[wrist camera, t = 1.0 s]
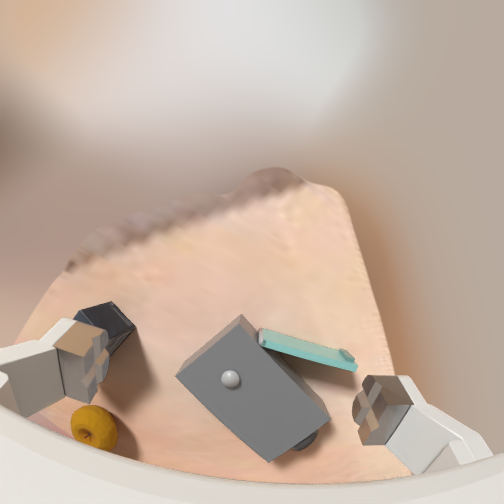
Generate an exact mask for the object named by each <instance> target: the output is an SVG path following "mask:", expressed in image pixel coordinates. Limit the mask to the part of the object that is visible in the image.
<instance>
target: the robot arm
mask: <svg viewBox="0 0 504 504" xmlns="http://www.w3.org/2000/svg"><path fill="white" fill-rule="evenodd" d="M108 342H109V340H108V332H107V331H106V330H104V329H101V328H98V327H95V326H92V325H88V324H85V323H82V322H78V321H76V320H73V319H70V318H67V317H64V318H61V319H60V320H59V321H58V322H57V323H56V324H55V325H54V326H53V327H52V328H51V329H50V330H49V331H48V332H47V333H46V334H45V335H44V336H43V337H42V338H41V339H40V340H39V341H36V340H32V341H28V342H24V343H20V344H16V345H13V346H9V347H5V348H1V349H0V504H504V452H503V453H500V454H497V455H493V454H492V452H491V451H490V449H489V448H488V446H487V445H486V443H485V442H484V440H483V439H482V437H481V436H480V435H479V434H478V433H476V432H475V431H473V430H472V429H470V428H468V427H466V426H465V425H463V424H462V423H460V422H458V421H457V420H455V419H454V418H452V417H450V416H449V415H447V414H445V413H444V412H442V411H441V410H439V409H437V408H436V407H434V406H432V405H430V404H429V405H428V404H427V403H426V401H425V400H424V398H423V397H422V395H421V393H420V392H419V390H418V389H417V387H416V386H415V384H414V383H413V381H412V380H411V378H410V377H409V376H407V375H405V376H404V375H402V376H401V375H399V376H398V375H394V376H384V375H368V376H367V377H366V378H365V379H364V381H363V383H362V387H363V390H362V391H361V392H360V393H358V394H357V395H356V397H355V400H354V402H353V407H352V416H353V419H354V422H356V423H357V424H358V425H359V426H360V427H359V429H358V434H359V436H360V439H361V442H362V445H385V447H386V448H387V449H388V450H390V451H391V452H392V453H393V454H394V455H395V456H396V457H397V458H398V459H399V460H400V461H401V462H402V463H403V464H404V465H405V466H406V467H407V468H408V469H409V470H410V471H411V472H412V473H413V474H415V475H412V476H406V477H400V478H392V479H384V480H376V481H365V482H352V483H333V484H287V483H267V482H254V481H244V480H234V479H226V478H219V477H212V476H206V475H200V474H194V473H189V472H184V471H179V470H174V469H169V468H165V467H160V466H156V465H152V464H148V463H144V462H141V461H137V460H133V459H130V458H126V457H123V456H120V455H116V454H113V453H110V452H107V451H104V450H101V449H98V448H95V447H93V446H90V445H87V444H84V443H82V442H79V441H76V440H74V439H71V438H69V437H66V436H64V435H62V434H59V433H57V432H54V431H52V430H50V429H48V428H45V427H43V426H41V425H39V424H37V423H35V422H33V421H31V420H29V419H27V417H29V416H31V415H33V414H35V413H36V412H38V411H40V410H42V409H44V408H46V407H48V406H50V405H52V404H53V403H55V402H57V401H59V400H61V399H63V398H64V397H65V396H67V397H70V398H73V399H76V400H79V401H82V402H85V403H88V404H90V402H91V401H92V399H93V397H94V396H95V394H96V392H97V391H98V390H97V384H98V383H100V382H103V380H104V378H105V377H106V374H107V371H108V367H109V353H108V352H107V350H106V348H105V347H106V345H107V344H108Z"/></svg>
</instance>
